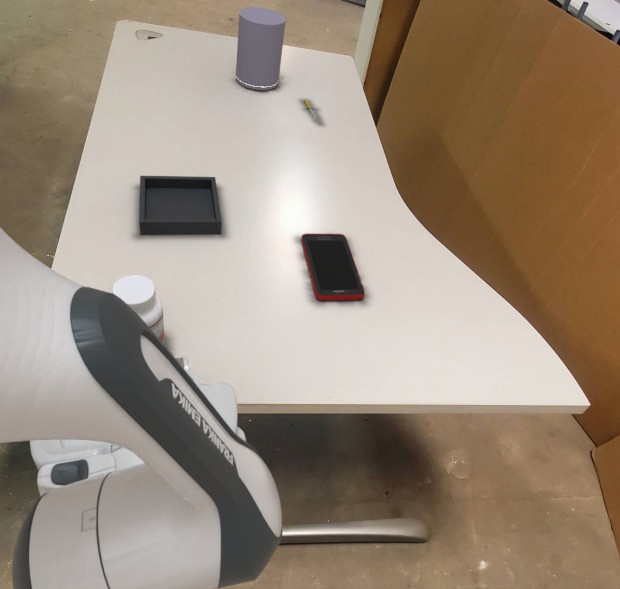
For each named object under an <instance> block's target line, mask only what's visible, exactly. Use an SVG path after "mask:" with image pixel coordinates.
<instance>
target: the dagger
mask: <svg viewBox="0 0 620 589" xmlns="http://www.w3.org/2000/svg"><path fill="white" fill-rule="evenodd" d="M303 102H304V104H305V106H306V110H308V111H309V112H310V113H311V115H312V117H313V118H314V119H317V116H316V113H315V111H314V110H315V108H313V107H312V105H311V104H310V102H309V101H308V99H307V98H305V99H304V100H303Z"/></svg>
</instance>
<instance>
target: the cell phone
mask: <svg viewBox="0 0 620 589" xmlns="http://www.w3.org/2000/svg"><path fill="white" fill-rule="evenodd" d="M300 241H301V245H302V249H303V252H304V257H305V261H306V265H307V268H308V269H307V270H308V272H309V277H310V280H311V285H312V288H313V292H314V295H315V297H316V300H317V299H318V300H319V301H344V300H345V301H348V300H349V301H350V300H351V301H353V300H362V299H364V297H365V294H366V293H365V292H366V291H365V288H364V285H363V282H362V280H361V277H360V274H359V271H358V268H357V265H356V262H355V259H354V256H353V253H352V251H351V248H350V245H349V242H348V240H347V238H346V236H345V234H342V233H304V234H303V233H302V235H301V238H300Z"/></svg>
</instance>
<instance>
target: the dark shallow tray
mask: <svg viewBox="0 0 620 589" xmlns="http://www.w3.org/2000/svg"><path fill="white" fill-rule="evenodd" d="M216 179H217V178H216V176H190V175H189V176H186V175H185V176H181V175H180V176H179V175H140V176H139V180H140V181H139V210H138V211H139V212H138V213H139V214H138V216H139V217H138V225H139V235H140V236H159V235H160V236H162V235H163V236H164V235H165V236H166V235H168V236H169V235H171V236H172V235H221V234H222V223H223V222H222V215H221V209H220V200H219V192H218V188H217V180H216Z"/></svg>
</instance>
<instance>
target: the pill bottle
mask: <svg viewBox="0 0 620 589" xmlns="http://www.w3.org/2000/svg"><path fill="white" fill-rule="evenodd" d="M111 293H112V294H114V295H116V296H118V297H119V298H120V299H122V300H123V301H124V302H125V303H126V304H127V305H128V306H129V307H130V308H132V309H133V310H134V311H135V312H136V313H137V314H138V315H139V316H140V318H141V319H142V320H143V321H144V322H145V323H146V324H147V325H148V326H149V327H150V329H151V330H152V331H153V332H154V333H155V334H156V335H157V337H158V338H159V339H160V340H161V341H162V342H163V344H164V345H165V324H164V306H163V301H162V299H161V297H160V296H159V295H158V294H157V293H156V286H155V284H154V282H153V281H152V280H151V279H150V278H148V277H146V276H144V275H139V274H132V275H131V274H130V275H126V276H125V275H124V276H123V277H121V278H119V279H118V280H116V282H115V283H114V284H113V286H112V289H111ZM165 346H166V345H165Z"/></svg>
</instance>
